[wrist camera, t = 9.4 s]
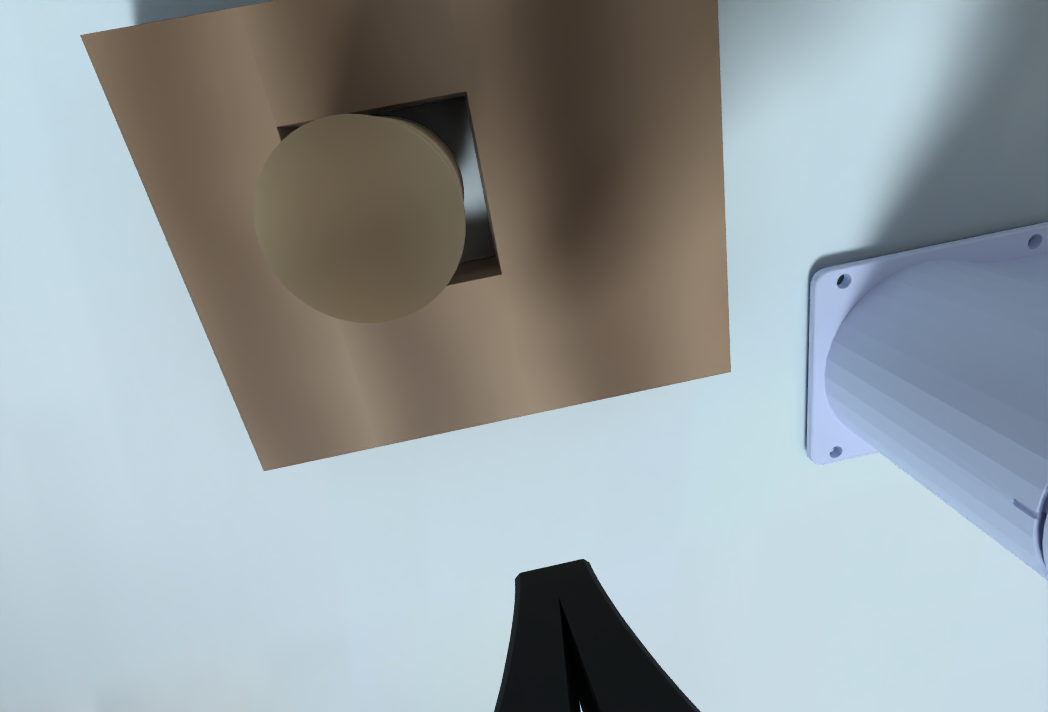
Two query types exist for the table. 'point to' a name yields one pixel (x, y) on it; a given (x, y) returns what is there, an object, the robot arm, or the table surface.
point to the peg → (361, 216)
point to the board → (509, 190)
